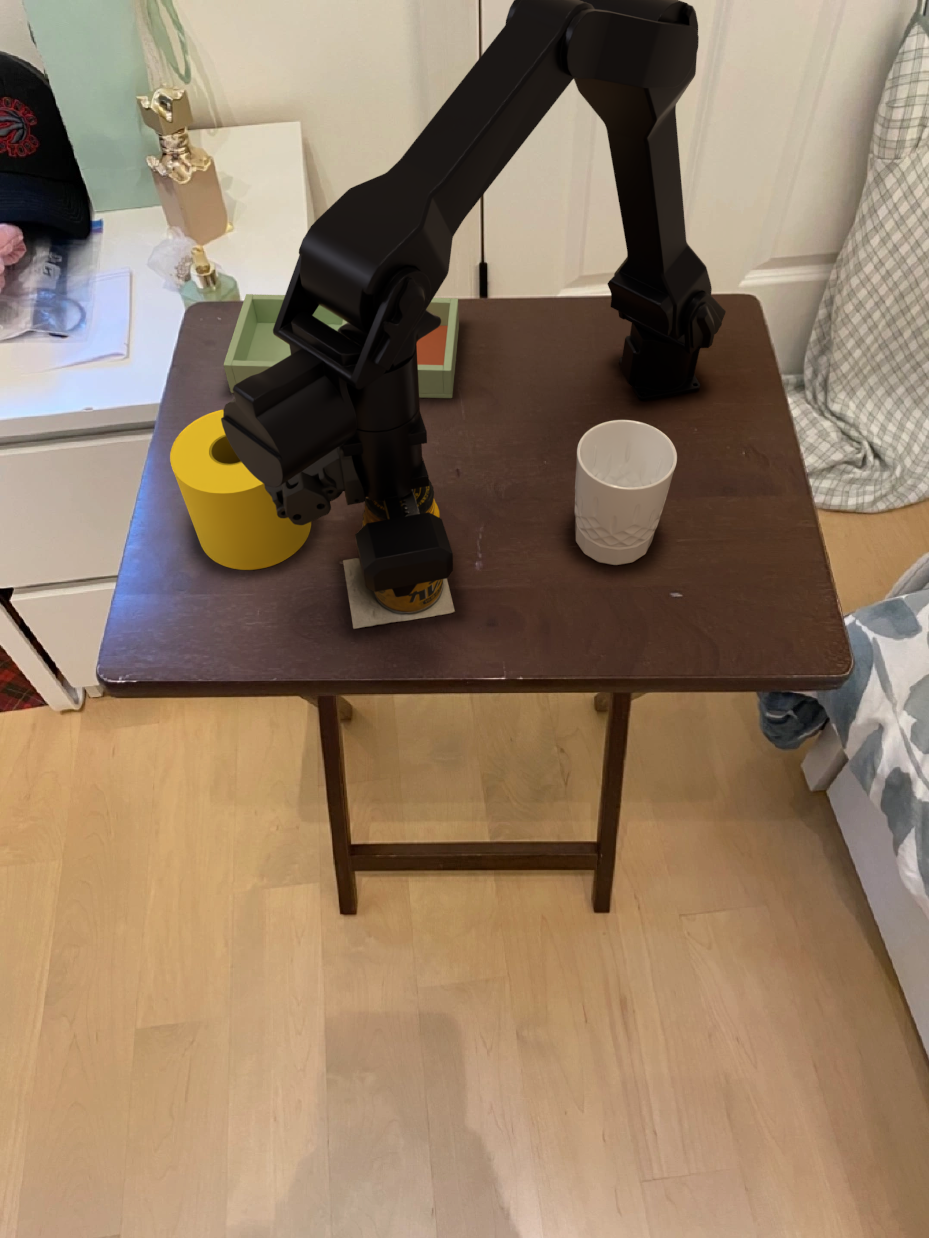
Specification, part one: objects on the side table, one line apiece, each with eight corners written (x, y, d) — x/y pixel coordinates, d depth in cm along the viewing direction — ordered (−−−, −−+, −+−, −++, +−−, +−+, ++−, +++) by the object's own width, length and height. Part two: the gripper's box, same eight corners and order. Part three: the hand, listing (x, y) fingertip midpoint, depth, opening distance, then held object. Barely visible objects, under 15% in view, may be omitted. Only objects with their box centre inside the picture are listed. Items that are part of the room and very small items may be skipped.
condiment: (454, 613, 78) (451, 515, 68) (353, 630, 77) (334, 533, 67) (439, 547, 82) (433, 446, 72) (343, 563, 81) (324, 462, 71)
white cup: (581, 578, 80) (592, 496, 71) (558, 511, 84) (565, 427, 76) (670, 563, 80) (691, 480, 72) (642, 497, 85) (658, 413, 77)
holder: (458, 326, 100) (458, 298, 97) (452, 398, 93) (451, 370, 90) (252, 322, 101) (245, 294, 98) (230, 393, 94) (223, 365, 92)
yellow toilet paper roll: (209, 486, 87) (182, 408, 79) (316, 485, 86) (300, 406, 79) (189, 570, 81) (159, 493, 73) (305, 569, 81) (286, 492, 73)
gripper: (243, 339, 67) (278, 493, 80) (274, 523, 56) (309, 668, 69) (395, 317, 69) (405, 471, 81) (453, 491, 58) (455, 639, 71)
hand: (391, 556), depth 76 cm, fingers closed on condiment, 8 cm apart
